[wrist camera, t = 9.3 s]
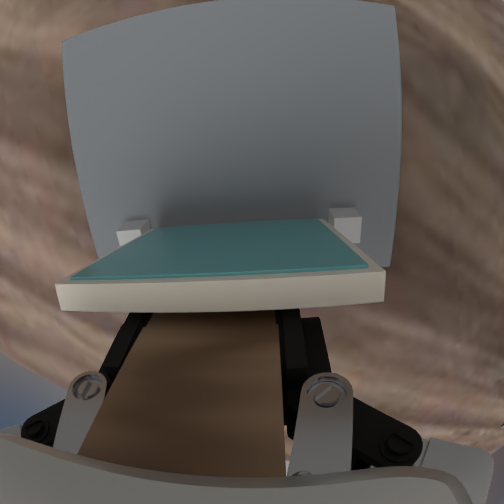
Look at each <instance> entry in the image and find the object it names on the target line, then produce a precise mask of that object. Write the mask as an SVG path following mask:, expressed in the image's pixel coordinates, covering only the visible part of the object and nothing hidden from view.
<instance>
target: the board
mask: <svg viewBox="0 0 504 504" xmlns="http://www.w3.org/2000/svg"><path fill="white" fill-rule="evenodd" d="M62 57H63V73H64V86H65V96H66V106H67V114H68V122H69V129H70V135H71V142H72V148H73V154H74V159H75V165H76V170H77V175H78V180H79V185H80V189H81V194H82V198H83V203H84V207H85V211H86V215H87V219H88V223H89V227H90V230H91V234H92V238H93V241H94V245H95V248H96V252H97V255H98V259H99V258H101V257H102V256H104V255H106V254H108V253H109V252H111V251H113V250H115V249H117V248H118V247H120V246H122V245H124V244H126V243H127V242H129V241H131V240H133V239H135V238H137V237H138V236H140V235H142V234H144V233H146V232H148V231H150V230H152V229H155V228H161V227H174V226H188V225H202V224H218V223H234V222H251V221H270V220H290V219H313V218H317V219H324V220H325V221H326V222H328V223H329V224H330V225H331V226H333V227H334V228H335V229H336V230H337V231H339V232H340V233H341V234H342V235H344V236H345V237H346V238H347V239H348V240H350V241H351V242H352V243H353V244H355V245H356V246H357V247H358V248H359V249H360V250H362V251H363V252H364V253H365V254H366V255H368V256H369V257H370V258H371V259H372V260H373V261H375V262H376V263H377V264H378V265H379V266H380V267H390V261H391V255H392V248H393V240H394V232H395V224H396V215H397V205H398V193H399V180H400V163H401V136H402V96H401V70H400V54H399V42H398V31H397V22H396V14H395V6H392V5H386V4H380V3H374V2H366V1H359V0H218V1H210V2H203V3H196V4H190V5H184V6H179V7H174V8H169V9H164V10H159V11H155V12H151V13H146V14H142V15H139V16H135V17H131V18H127V19H124V20H121V21H117V22H114V23H111V24H108V25H104V26H101V27H98V28H96V29H93V30H90V31H87V32H84V33H82V34H79V35H76V36H74V37H71V38H69V39H66V40H64V41H62Z"/></svg>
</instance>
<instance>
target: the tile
mask: <svg viewBox="0 0 504 504" xmlns="http://www.w3.org/2000/svg"><path fill="white" fill-rule="evenodd" d="M385 280H386V271H385V270H384V269H383V268H382V267H380V266H379V265H378V264H377V263H376V262H375V261H373V260H372V259H371V258H370V257H369V256H368V255H366V254H365V253H364V252H363V251H362V250H360V249H359V248H358V247H357V246H356V245H355V244H353V243H352V242H351V241H350V240H348V239H347V238H346V237H345V236H344V235H342V234H341V233H340V232H339V231H337V230H336V229H335V228H334V227H333V226H331V225H330V224H329V223H328V222H326V221H325V220H324V219H317V218H313V219H290V220H270V221H251V222H234V223H218V224H202V225H188V226H174V227H161V228H155V229H152V230H150V231H148V232H146V233H144V234H142V235H140V236H138V237H137V238H135V239H133V240H131V241H129V242H127V243H126V244H124V245H122V246H120V247H118V248H117V249H115V250H113V251H111V252H109V253H108V254H106V255H104V256H102V257H101V258H99V259H97V260H95V261H94V262H92V263H90V264H88V265H87V266H85V267H83V268H81V269H80V270H78V271H76V272H75V273H73V274H71V275H70V276H68V277H66V278H65V279H63V280H61V281H60V282H58V283H56V284H55V287H56V291H57V295H58V299H59V303H60V307H61V310H69V311H95V312H158V313H163V312H228V311H256V310H277V309H296V308H312V307H326V306H339V305H352V304H363V303H374V302H384V293H385Z"/></svg>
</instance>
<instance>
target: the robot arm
mask: <svg viewBox="0 0 504 504" xmlns="http://www.w3.org/2000/svg"><path fill="white" fill-rule="evenodd" d="M153 313H154V312H130V313H129V315H128V317H127V319H126V321H125V323H124V324H123V325H122V326H121V328H120V330H119V332H118V334H117V336H116V338H115V340H114V342H113V344H112V346H111V348H110V350H109V352H108V354H107V356H106V358H105V360H104V362H103V364H102V366H101V368H100V370H99V372H97V371H88V372H84V373H82V374H80V375H78V376H77V377H75V378H74V379H73V381H72V382H71V383H70V386H69V388H68V391H67V395H66V399H64V400H62V401H60V402H58V403H56V404H54V405H52V406H50V407H49V408H47V409H45V410H43V411H41V412H39V413H37V414H35V415H33V416H31V417H30V418H28V419H27V420H26V421H25V423H24V424H23V426H21V425H16V426H12V427H9V428H5V429H1V430H0V504H485V503H486V499H487V496H488V492H489V488H490V483H491V479H492V473H493V469H494V461H493V458H492V456H491V455H490V454H489V453H488V452H487V451H486V450H483V449H481V448H476V447H471V446H466V445H461V444H457V443H452V442H448V441H444V440H440V439H436V438H432V437H431V438H430V440H427V439H423V438H421V436H420V435H419V434H418V432H417V431H416V430H414V429H413V428H411V427H410V426H408V425H406V424H404V423H402V422H400V421H398V420H396V419H394V418H392V417H390V416H388V415H386V414H384V413H382V412H380V411H378V410H376V409H375V408H373V407H371V406H369V405H367V404H365V403H363V402H362V401H360V400H358V399H356V398H354V397H353V389H352V385H351V384H350V382H349V381H348V380H347V379H346V378H344V377H343V376H341V375H339V374H336V373H332V372H331V367H330V363H329V358H328V353H327V349H326V344H325V339H324V335H323V330H322V326H321V322H320V318H319V317H311V318H301V317H300V310H299V308H296V309H277V310H275V317H276V324H278V329H279V345H280V362H281V380H282V399H283V419H284V425H287V434H288V437H289V438H291V439H292V440H293V445H292V451H291V456H290V462H289V467H288V473H287V476H286V477H214V476H199V475H187V474H177V473H168V472H161V471H154V470H147V469H141V468H135V467H129V466H124V465H119V464H114V463H110V462H105V461H101V460H96V459H92V458H88V457H84V456H81V455H77V453H78V451H79V449H80V447H81V445H82V443H83V441H84V439H85V437H86V435H87V433H88V431H89V429H90V427H91V425H92V423H93V421H94V419H95V417H96V415H97V413H98V411H99V409H100V407H101V405H102V403H103V401H104V399H105V397H106V395H107V393H108V391H109V389H110V387H111V386H112V384H113V382H114V380H115V378H116V376H117V374H118V372H119V370H120V369H121V367H122V365H123V363H124V361H125V359H126V358H127V356H128V354H129V352H130V350H131V348H132V347H133V345H134V343H135V341H136V339H137V338H138V336H139V334H140V332H141V331H142V329H143V327H146V325H147V324H148V322H149V320H150V318H151V316H152V315H153Z"/></svg>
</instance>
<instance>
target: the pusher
mask: <svg viewBox="0 0 504 504" xmlns="http://www.w3.org/2000/svg"><path fill="white" fill-rule="evenodd" d="M77 455H81V456H84V457H88V458H92V459H96V460H101V461H105V462H110V463H114V464H119V465H124V466H129V467H135V468H141V469H147V470H154V471H161V472H168V473H177V474H187V475H199V476H214V477H286V466H285V441H284V419H283V399H282V380H281V362H280V345H279V329H278V324H276V317H275V310H256V311H228V312H163V313H158V312H154V313H153V315H152V316H151V318H150V320H149V322H148V324H147V325H146V327H143V329H142V331H141V332H140V334H139V336H138V338H137V339H136V341H135V343H134V345H133V347H132V348H131V350H130V352H129V354H128V356H127V358H126V359H125V361H124V363H123V365H122V367H121V369H120V370H119V372H118V374H117V376H116V378H115V380H114V382H113V384H112V386H111V387H110V389H109V391H108V393H107V395H106V397H105V399H104V401H103V403H102V405H101V407H100V409H99V411H98V413H97V415H96V417H95V419H94V421H93V423H92V425H91V427H90V429H89V431H88V433H87V435H86V437H85V439H84V441H83V443H82V445H81V447H80V449H79V451H78V453H77Z"/></svg>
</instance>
